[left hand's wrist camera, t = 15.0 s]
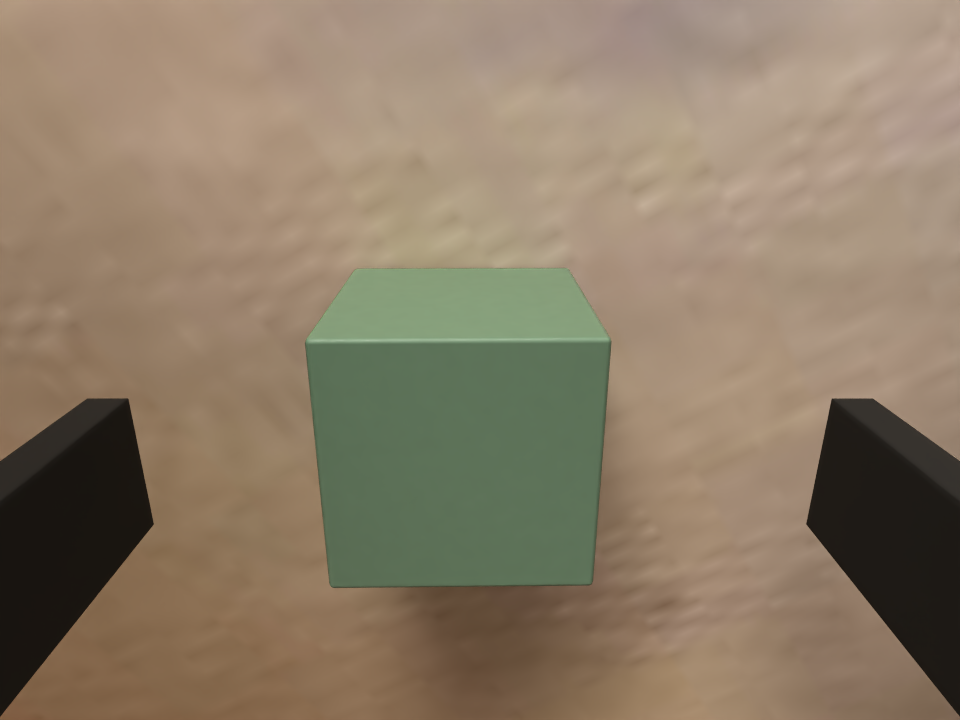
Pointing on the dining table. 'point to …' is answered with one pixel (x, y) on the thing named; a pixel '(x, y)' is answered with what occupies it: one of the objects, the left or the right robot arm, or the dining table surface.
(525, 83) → the dining table surface
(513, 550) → the green block
